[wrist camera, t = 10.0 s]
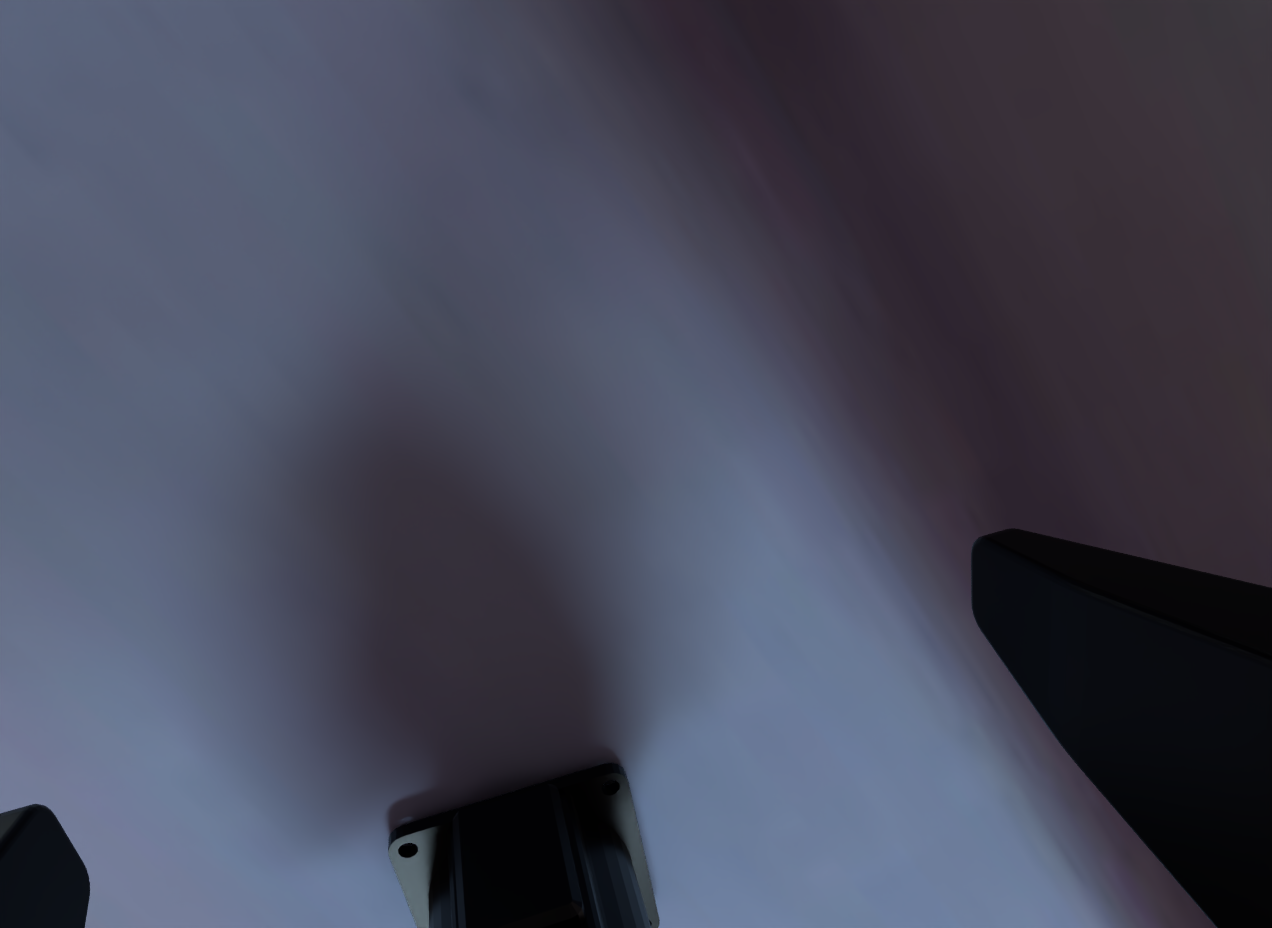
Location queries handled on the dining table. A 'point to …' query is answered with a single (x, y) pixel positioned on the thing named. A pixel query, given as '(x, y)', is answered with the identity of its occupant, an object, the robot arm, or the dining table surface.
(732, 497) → the dining table surface
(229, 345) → the dining table surface
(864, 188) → the dining table surface
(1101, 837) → the dining table surface
